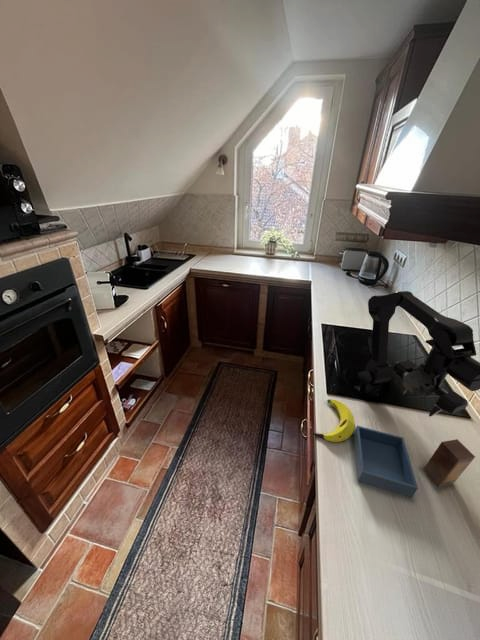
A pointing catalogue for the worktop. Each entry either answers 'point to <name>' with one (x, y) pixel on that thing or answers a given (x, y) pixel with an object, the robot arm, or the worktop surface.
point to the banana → (345, 424)
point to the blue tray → (383, 461)
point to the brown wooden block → (448, 462)
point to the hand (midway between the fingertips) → (416, 404)
